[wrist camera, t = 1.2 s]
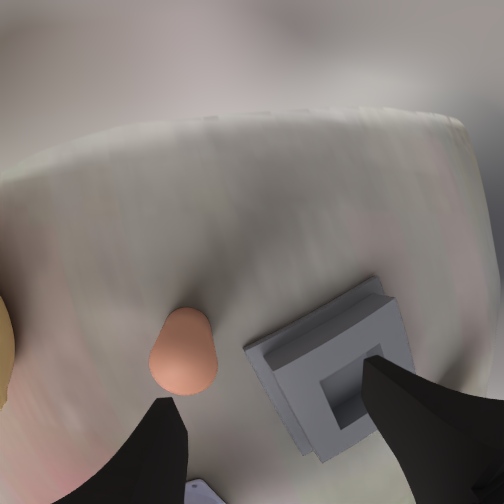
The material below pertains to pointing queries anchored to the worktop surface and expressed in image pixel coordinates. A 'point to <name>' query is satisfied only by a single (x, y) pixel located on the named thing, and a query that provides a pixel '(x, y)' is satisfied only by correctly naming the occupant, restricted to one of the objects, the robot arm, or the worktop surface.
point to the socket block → (330, 367)
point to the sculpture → (5, 352)
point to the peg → (184, 353)
